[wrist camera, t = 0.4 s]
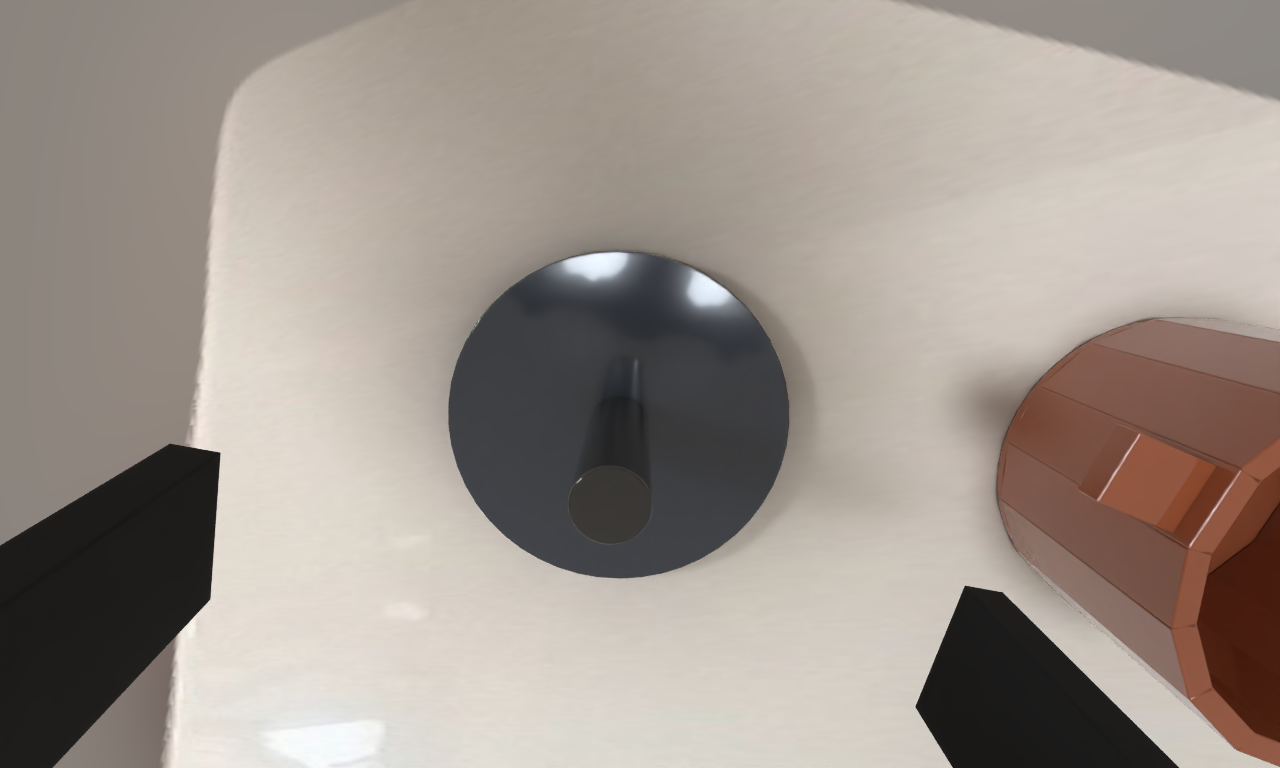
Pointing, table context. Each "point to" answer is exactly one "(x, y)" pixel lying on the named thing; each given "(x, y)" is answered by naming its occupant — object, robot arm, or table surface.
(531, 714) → the table surface
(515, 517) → the lid
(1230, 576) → the crock
